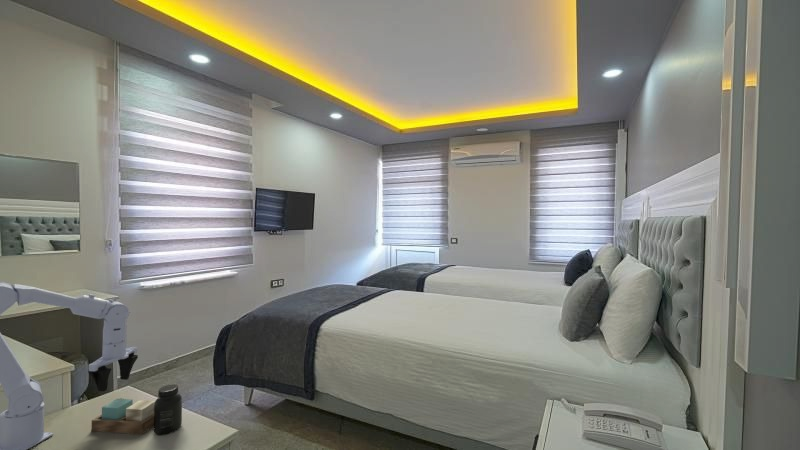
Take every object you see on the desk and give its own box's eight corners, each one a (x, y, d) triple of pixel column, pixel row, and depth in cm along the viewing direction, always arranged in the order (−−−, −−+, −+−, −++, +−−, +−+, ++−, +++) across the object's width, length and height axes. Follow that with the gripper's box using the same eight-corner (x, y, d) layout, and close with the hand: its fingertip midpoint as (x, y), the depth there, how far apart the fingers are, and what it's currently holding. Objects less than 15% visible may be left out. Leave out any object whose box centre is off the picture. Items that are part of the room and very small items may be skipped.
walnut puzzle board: (91, 430, 98) (91, 409, 98) (117, 414, 106) (117, 395, 106) (142, 434, 97) (142, 413, 97) (164, 417, 105) (164, 398, 105)
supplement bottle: (187, 423, 102) (187, 383, 102) (169, 437, 96) (170, 394, 96) (166, 421, 103) (166, 381, 103) (147, 435, 96) (148, 392, 96)
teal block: (101, 424, 99) (101, 407, 99) (116, 414, 104) (117, 398, 104) (117, 425, 99) (117, 408, 99) (132, 415, 104) (132, 399, 104)
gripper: (104, 350, 98) (103, 397, 98) (145, 334, 113) (145, 375, 113) (82, 349, 99) (81, 395, 99) (126, 333, 113) (125, 374, 113)
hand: (113, 384), depth 106 cm, fingers open, 7 cm apart
